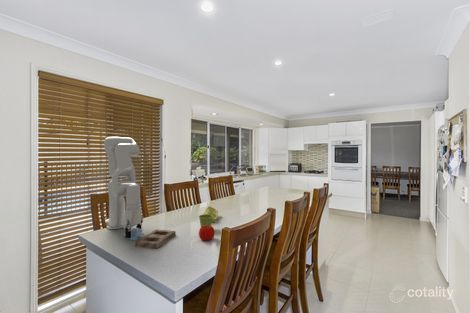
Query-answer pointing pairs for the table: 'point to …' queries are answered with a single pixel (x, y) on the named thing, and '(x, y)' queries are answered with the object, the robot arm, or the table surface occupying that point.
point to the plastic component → (212, 213)
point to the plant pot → (205, 219)
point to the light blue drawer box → (135, 233)
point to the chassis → (155, 239)
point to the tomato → (206, 232)
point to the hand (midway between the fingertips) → (133, 235)
